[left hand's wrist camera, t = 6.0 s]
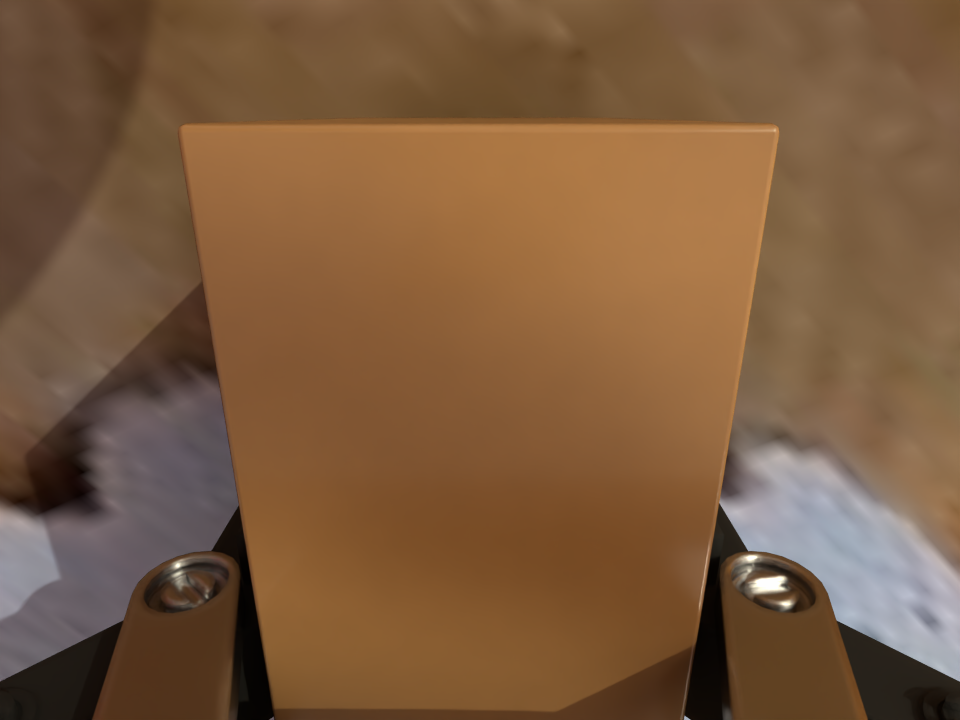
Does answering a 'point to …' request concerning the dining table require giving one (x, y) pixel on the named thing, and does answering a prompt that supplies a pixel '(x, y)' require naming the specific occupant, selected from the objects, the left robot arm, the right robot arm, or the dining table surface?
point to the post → (478, 400)
